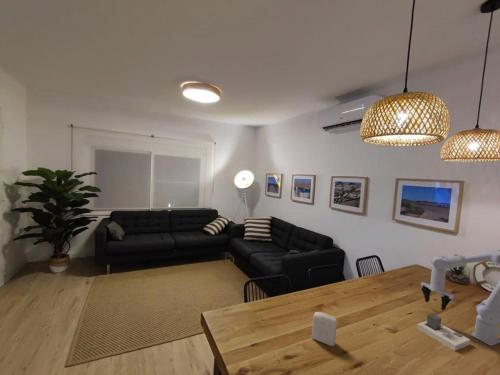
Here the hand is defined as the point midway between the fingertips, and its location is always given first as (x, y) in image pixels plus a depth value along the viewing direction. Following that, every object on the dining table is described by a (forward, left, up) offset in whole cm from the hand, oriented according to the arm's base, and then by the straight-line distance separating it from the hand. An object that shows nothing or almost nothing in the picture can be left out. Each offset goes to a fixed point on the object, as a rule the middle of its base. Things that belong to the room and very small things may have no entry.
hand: (434, 305), depth 123 cm
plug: (+7, +4, -9) cm, 12 cm away
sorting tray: (+7, +8, -10) cm, 15 cm away
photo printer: (+66, -8, -10) cm, 67 cm away
